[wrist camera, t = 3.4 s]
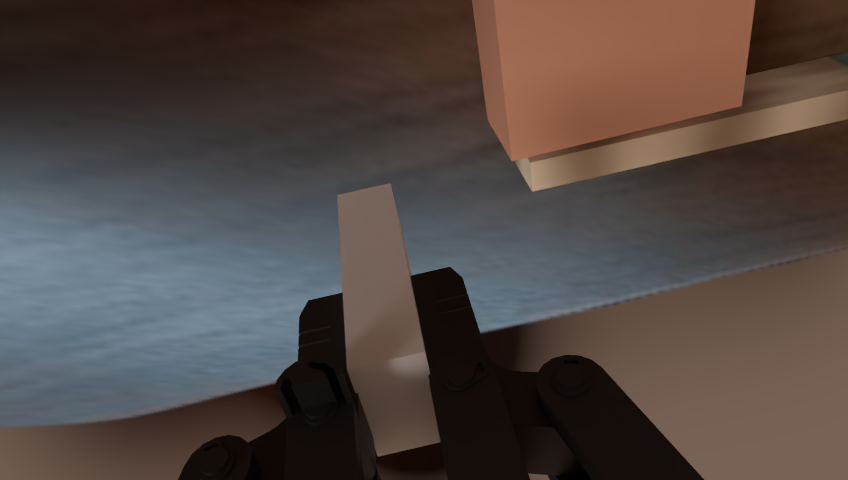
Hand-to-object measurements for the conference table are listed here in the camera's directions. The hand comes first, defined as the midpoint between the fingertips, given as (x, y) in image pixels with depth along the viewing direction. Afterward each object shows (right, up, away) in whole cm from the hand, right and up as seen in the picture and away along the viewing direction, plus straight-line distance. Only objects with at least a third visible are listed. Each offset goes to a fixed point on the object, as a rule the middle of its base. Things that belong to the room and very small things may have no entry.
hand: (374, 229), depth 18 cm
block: (+9, +9, +10) cm, 16 cm away
